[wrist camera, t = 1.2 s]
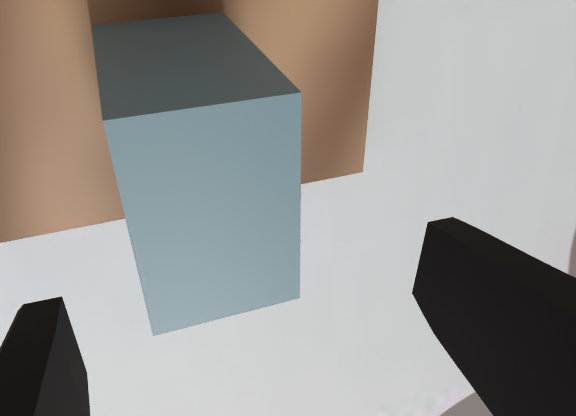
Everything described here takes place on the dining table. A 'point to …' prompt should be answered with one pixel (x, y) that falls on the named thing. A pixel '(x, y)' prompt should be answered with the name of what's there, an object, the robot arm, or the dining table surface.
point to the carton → (202, 165)
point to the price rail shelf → (87, 109)
